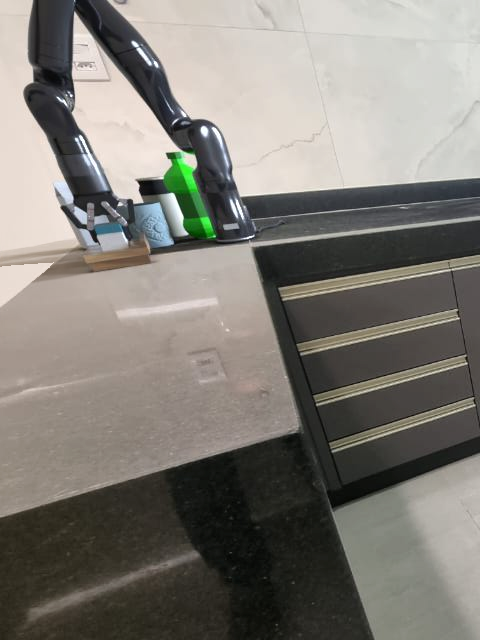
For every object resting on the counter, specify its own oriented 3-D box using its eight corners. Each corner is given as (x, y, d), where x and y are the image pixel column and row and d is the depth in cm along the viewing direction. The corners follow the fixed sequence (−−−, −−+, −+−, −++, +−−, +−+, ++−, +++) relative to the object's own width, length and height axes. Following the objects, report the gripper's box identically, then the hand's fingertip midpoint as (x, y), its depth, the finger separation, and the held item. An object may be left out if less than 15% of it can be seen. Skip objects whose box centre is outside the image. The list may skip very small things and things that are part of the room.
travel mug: (164, 239, 165) (138, 179, 157) (155, 237, 169) (129, 179, 161) (194, 234, 171) (171, 176, 163) (184, 233, 175) (161, 176, 167)
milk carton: (120, 245, 160) (89, 179, 152) (89, 250, 155) (55, 182, 147) (112, 243, 164) (82, 179, 156) (81, 248, 158) (48, 182, 150)
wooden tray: (95, 260, 141) (84, 239, 139) (152, 252, 148) (144, 231, 146) (91, 272, 129) (79, 249, 126) (154, 262, 136) (144, 240, 133)
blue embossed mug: (174, 245, 155) (157, 203, 150) (130, 251, 150) (110, 208, 145) (178, 240, 163) (161, 200, 158) (135, 245, 158) (117, 204, 153)
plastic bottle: (192, 236, 168) (159, 152, 158) (231, 232, 172) (201, 150, 161) (181, 242, 160) (145, 154, 149) (222, 238, 163) (189, 151, 153)
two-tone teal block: (104, 245, 139) (94, 223, 137) (129, 241, 142) (120, 220, 140) (103, 251, 131) (92, 229, 129) (129, 247, 134) (119, 226, 132)
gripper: (41, 177, 123) (76, 249, 131) (122, 171, 132) (151, 239, 139) (44, 176, 129) (79, 245, 136) (122, 170, 137) (150, 236, 144)
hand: (115, 242), depth 137 cm, fingers closed on two-tone teal block, 5 cm apart
